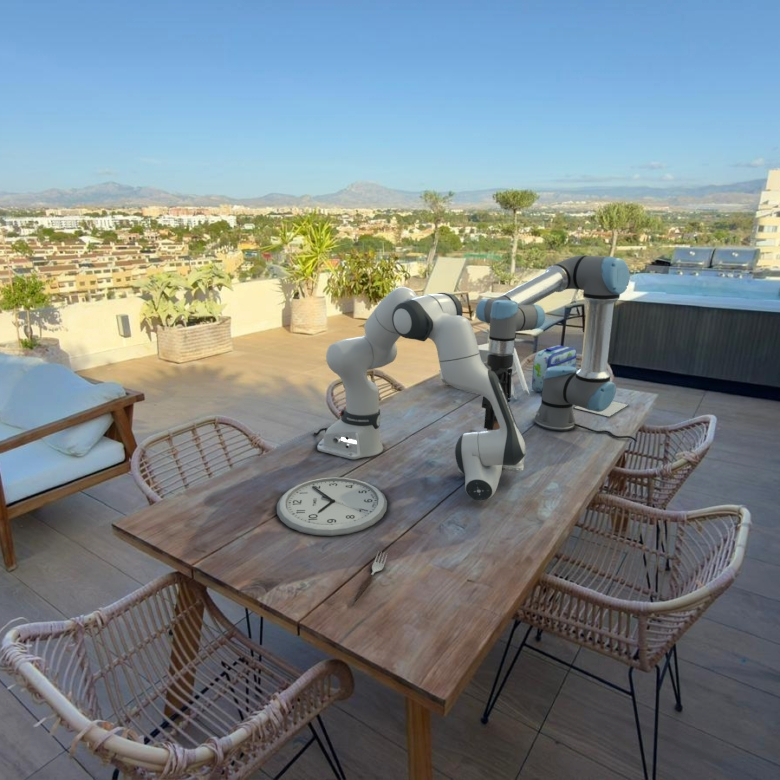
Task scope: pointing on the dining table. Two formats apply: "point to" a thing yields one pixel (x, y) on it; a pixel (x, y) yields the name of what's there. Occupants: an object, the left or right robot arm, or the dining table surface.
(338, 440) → the left robot arm
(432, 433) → the dining table surface
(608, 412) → the invitation card
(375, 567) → the fork
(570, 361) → the lunch box
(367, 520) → the wall clock
